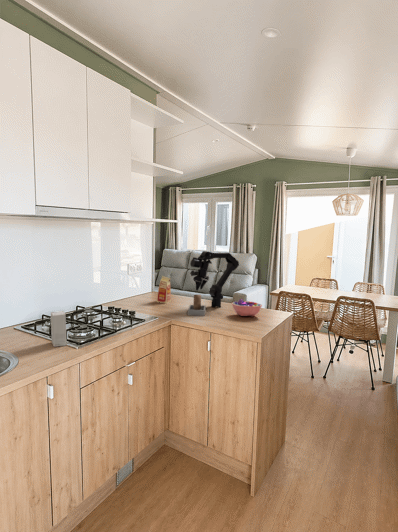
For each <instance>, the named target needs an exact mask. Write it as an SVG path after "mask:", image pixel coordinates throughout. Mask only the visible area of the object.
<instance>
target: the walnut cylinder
mask: <svg viewBox="0 0 398 532" xmlns="http://www.w3.org/2000/svg"><path fill="white" fill-rule="evenodd" d="M192 305H193V310H201V305H202V295H201V294H193V304H192Z"/></svg>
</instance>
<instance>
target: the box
mask: <svg viewBox="0 0 398 532" xmlns="http://www.w3.org/2000/svg"><path fill="white" fill-rule="evenodd" d="M193 305H194V304H190V305H189V306H188V309H187V316H199V317H200V316H201V317H204V316H205V314H206V310H207V309H206V307H207V306H206V305H202V304H201V310H193Z"/></svg>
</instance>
